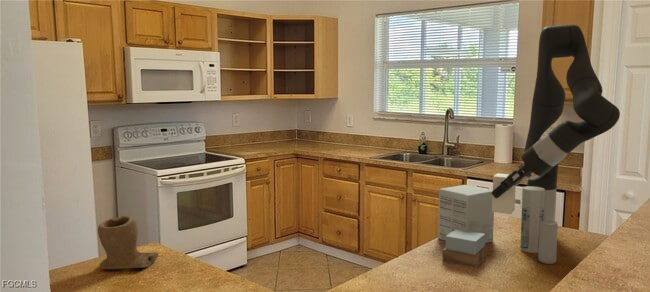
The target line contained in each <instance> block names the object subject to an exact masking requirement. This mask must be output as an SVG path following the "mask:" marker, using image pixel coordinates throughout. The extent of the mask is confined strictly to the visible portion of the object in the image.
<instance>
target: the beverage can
mask: <svg viewBox="0 0 650 292" xmlns="http://www.w3.org/2000/svg"><path fill="white" fill-rule="evenodd" d="M558 229H559V226H558V222H557V221H555V222H554V221H548V220H544V221H541V223H540V234H539V253H538V254H537V255H538V256H537V257H538V261H539V262H540V263H541V264H544V265H552V264H555V263H556V261H557V251H558V249H557V247H558Z"/></svg>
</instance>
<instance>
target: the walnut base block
mask: <svg viewBox="0 0 650 292" xmlns="http://www.w3.org/2000/svg"><path fill="white" fill-rule="evenodd" d="M486 249H487V248H486V245H485V247H484V248H482V249H481V250H480V251H479V252H478V253H477V254H475V255H474V254H469V253H463V252H458V251H453V250H447V249H445V247H444V248H443V249H442V262H444V263H451V264H456V265H460V264H461V265H462V266H467V267H471V266H472V268H477V267H478V266H479V265H480V264H481V263H482V262H483V261H484V260H485V258H486ZM482 260H483V261H482ZM461 265H460V266H461Z"/></svg>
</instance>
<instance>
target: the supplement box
mask: <svg viewBox="0 0 650 292" xmlns="http://www.w3.org/2000/svg"><path fill="white" fill-rule="evenodd" d="M492 191H493V189H489V188H488V189H487V188H483V187H477V186H474V185H468V184H461V185H454V186H449V187H448V186H447V187H443V188H438V222H437V224H438V225H437V226H438V227H437V238H438V239H440V240H442V241H445V242H446V236H447V235H448V234H450V233H451V232H453V231H454V230H456V229H460V230H466V231H472V232H478V233H484V234H485V244H487V243H490V242H493V241H494V225H495V223H494V220H495V219H494V217H495V212H492V199H493V195H492Z"/></svg>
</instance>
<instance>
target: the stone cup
mask: <svg viewBox="0 0 650 292" xmlns="http://www.w3.org/2000/svg"><path fill="white" fill-rule="evenodd" d="M97 235H98V239H99V240H100V241H99V242H100V244H101V246H102V247H103V249H104V251H105V254H106V258H104V259H103V260H102V261H101V262H100V263H99V268H100V269H102V270H128V269H129V270H130V269H140V268H148V267H150V266H152V265H153V264H154V263H155V262H156V261H157V260H158V258H159V253H158V252H140V251H138V248H137V246H138V245H137V243H138V236H139V235H138V224H137V221H136V220H135V219H134V218H133V216H130V215H121V216H120V217H110V218H108V219H106V220H104V221H102V222H101V223H100V224H99V225H98V227H97Z"/></svg>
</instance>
